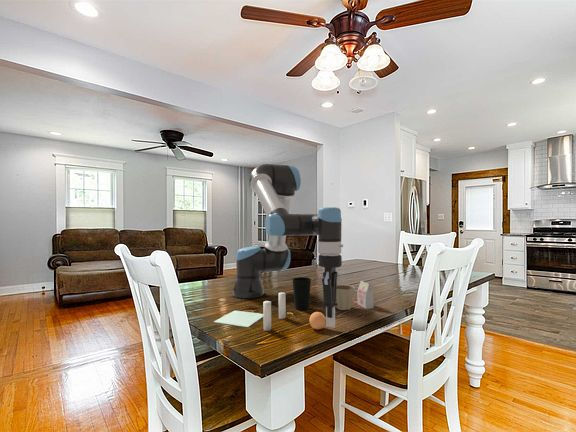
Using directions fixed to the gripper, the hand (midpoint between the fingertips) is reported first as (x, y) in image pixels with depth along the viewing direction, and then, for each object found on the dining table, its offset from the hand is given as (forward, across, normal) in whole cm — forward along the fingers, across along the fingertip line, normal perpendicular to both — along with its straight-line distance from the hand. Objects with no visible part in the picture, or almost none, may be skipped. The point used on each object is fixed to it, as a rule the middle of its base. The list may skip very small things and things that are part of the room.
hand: (330, 326), depth 94 cm
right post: (+1, +6, +20) cm, 21 cm away
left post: (+1, -6, +20) cm, 21 cm away
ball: (-1, 0, +4) cm, 5 cm away
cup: (+2, +20, +16) cm, 26 cm away
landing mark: (+1, 0, +34) cm, 34 cm away
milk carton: (+2, +31, -8) cm, 32 cm away
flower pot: (+2, +26, 0) cm, 26 cm away
